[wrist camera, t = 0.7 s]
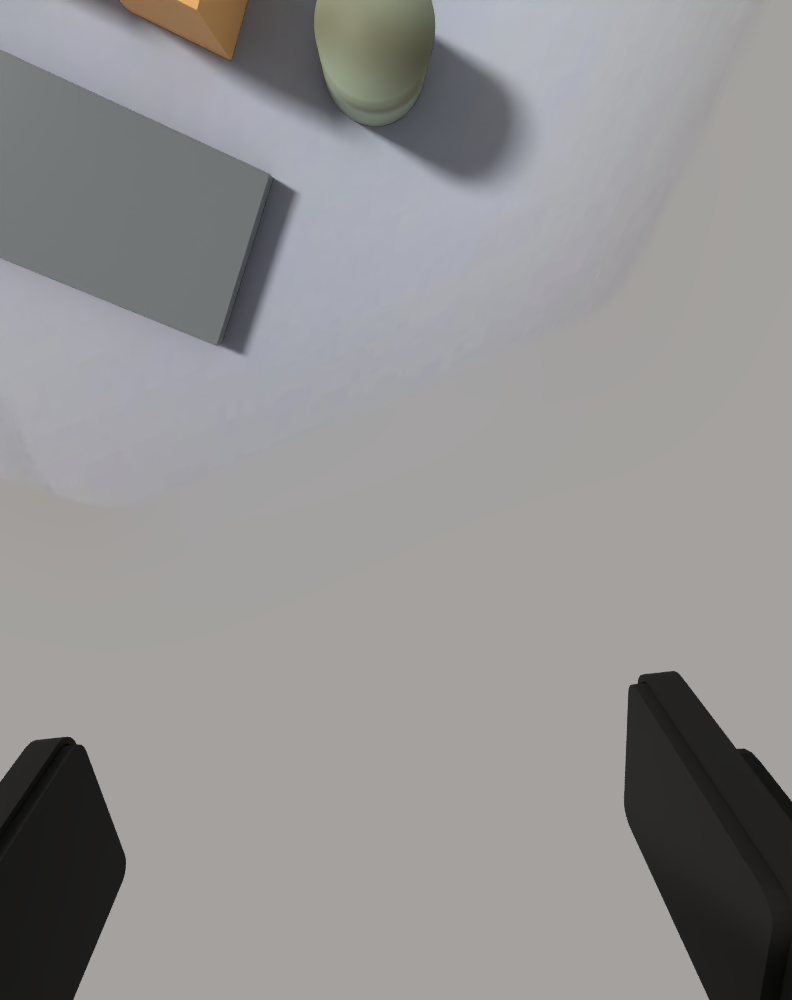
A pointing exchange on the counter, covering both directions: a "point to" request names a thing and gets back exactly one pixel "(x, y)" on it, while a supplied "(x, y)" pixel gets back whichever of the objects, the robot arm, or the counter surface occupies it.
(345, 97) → the sage cylinder
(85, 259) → the slate board
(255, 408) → the counter surface
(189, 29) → the orange block
